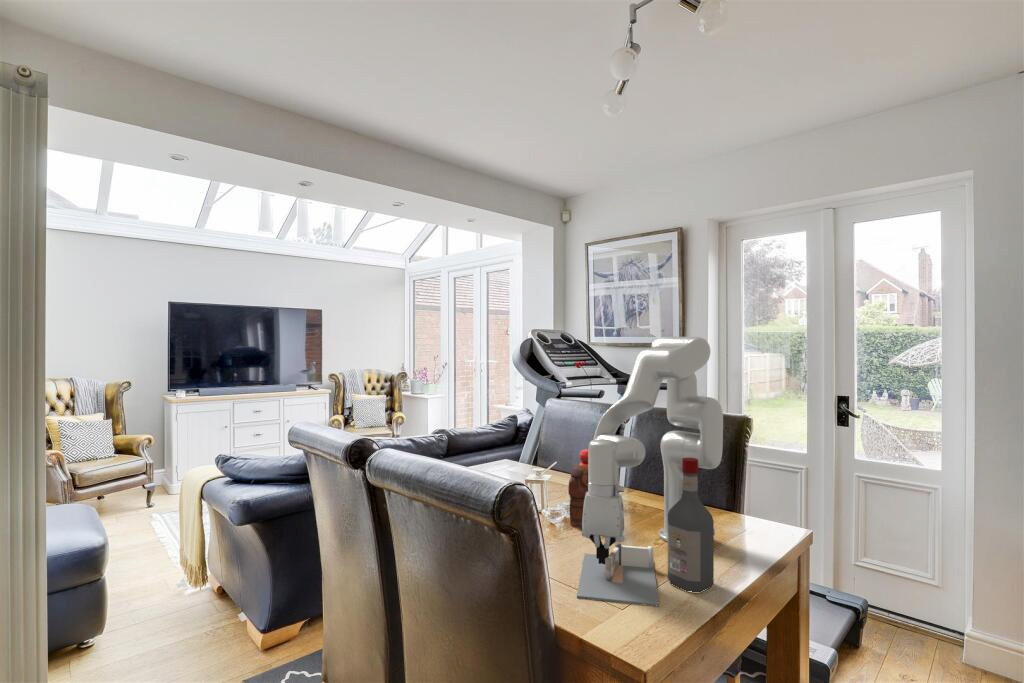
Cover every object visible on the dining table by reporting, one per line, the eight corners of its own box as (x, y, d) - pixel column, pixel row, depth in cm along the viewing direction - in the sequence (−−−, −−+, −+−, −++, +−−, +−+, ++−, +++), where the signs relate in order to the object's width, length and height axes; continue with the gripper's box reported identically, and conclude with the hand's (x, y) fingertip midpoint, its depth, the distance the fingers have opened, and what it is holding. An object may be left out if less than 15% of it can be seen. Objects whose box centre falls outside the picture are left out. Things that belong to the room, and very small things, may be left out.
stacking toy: (572, 497, 194) (572, 447, 194) (592, 496, 196) (592, 446, 196) (580, 504, 186) (580, 451, 186) (600, 502, 188) (601, 450, 188)
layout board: (652, 561, 137) (652, 539, 137) (658, 606, 114) (658, 580, 114) (584, 555, 141) (584, 534, 141) (576, 597, 118) (576, 572, 118)
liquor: (695, 596, 119) (695, 465, 119) (662, 581, 126) (662, 458, 126) (718, 585, 124) (718, 460, 124) (685, 571, 131) (685, 453, 131)
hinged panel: (614, 564, 134) (614, 545, 134) (619, 565, 133) (619, 546, 133) (604, 579, 125) (604, 559, 125) (610, 580, 125) (610, 560, 125)
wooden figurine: (586, 528, 162) (586, 470, 162) (566, 525, 164) (566, 469, 164) (595, 516, 173) (595, 462, 173) (576, 514, 175) (576, 461, 175)
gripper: (635, 488, 132) (634, 560, 132) (577, 482, 137) (576, 552, 137) (631, 496, 125) (631, 572, 125) (570, 490, 130) (570, 563, 130)
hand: (602, 561), depth 131 cm, fingers closed
